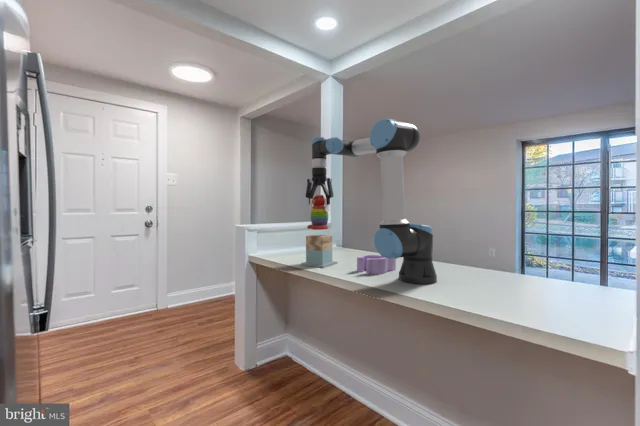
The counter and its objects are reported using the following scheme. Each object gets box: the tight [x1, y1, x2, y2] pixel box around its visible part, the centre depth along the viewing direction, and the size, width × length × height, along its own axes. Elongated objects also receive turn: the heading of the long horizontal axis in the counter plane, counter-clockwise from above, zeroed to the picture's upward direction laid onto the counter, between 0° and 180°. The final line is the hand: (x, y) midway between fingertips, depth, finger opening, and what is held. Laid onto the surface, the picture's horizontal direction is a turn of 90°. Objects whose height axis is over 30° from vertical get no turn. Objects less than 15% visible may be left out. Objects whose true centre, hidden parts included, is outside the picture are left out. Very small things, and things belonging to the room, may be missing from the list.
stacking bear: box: [306, 194, 329, 231], centre depth 166 cm, size 11×10×18 cm
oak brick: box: [305, 234, 333, 251], centre depth 166 cm, size 10×10×7 cm
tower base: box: [300, 248, 338, 269], centre depth 166 cm, size 14×14×8 cm
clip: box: [356, 253, 397, 275], centre depth 150 cm, size 20×12×7 cm, turn 124°
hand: (319, 211), depth 166 cm, fingers closed on stacking bear, 8 cm apart
